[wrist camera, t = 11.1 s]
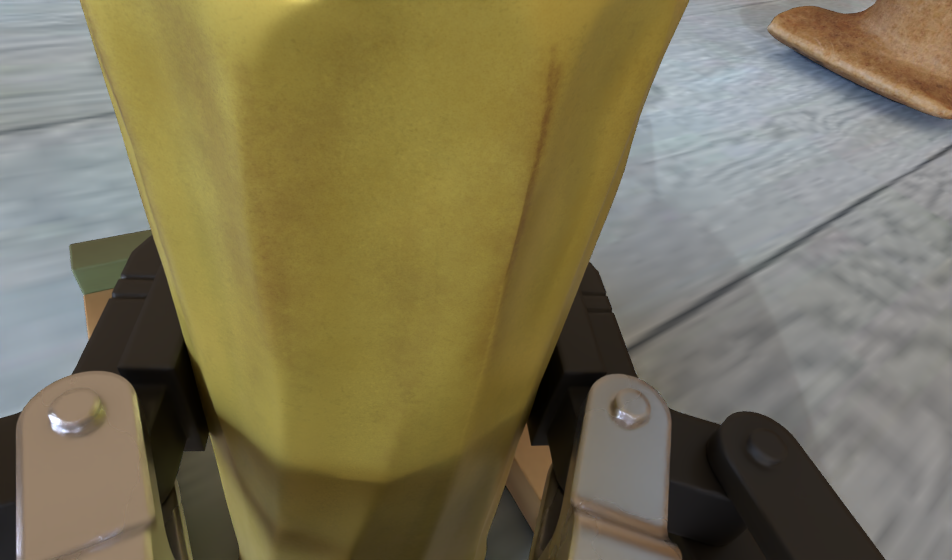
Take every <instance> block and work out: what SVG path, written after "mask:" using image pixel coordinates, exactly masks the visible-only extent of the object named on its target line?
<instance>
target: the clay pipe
mask: <svg viewBox="0 0 952 560" xmlns="http://www.w3.org/2000/svg"><path fill="white" fill-rule="evenodd" d="M767 30H768V32H769V33H770V34H771V35H772V36H773V37H774V38H776V39H777V40H778V41H780V42H781V43H783V44H785V45H786V46H788V47H790V48H792V49H793V50H795V51H796V52H798V53H800V54H802V55H803V56H805V57H807V58H809V59H810V60H812V61H814V62H816V63H818V64H820V65H822V66H824V67H825V68H827V69H829V70H831V71H833V72H834V73H836V74H838V75H840V76H842V77H844V78H846V79H848V80H851V81H852V82H854V83H856V84H858V85H860V86H862V87H865V88H867V89H869V90H871V91H873V92H875V93H878V94H880V95H882V96H884V97H886V98H889V99H891V100H893V101H896V102H898V103H901V104H904V105H906V106H908V107H911V108H913V109H916V110H918V111H921V112H923V113H926V114H929V115H932V116H936V117H939V118H943V119H952V0H877V1H876V2H875V4H874V5H872V6H871V7H869V8H868V9H866V10H864V11H862V12H858V13H851V14H843V13H837V12H834V11H830V10H827V9H823V8H820V7H816V6H803V7H797V8H792V9H790V10H788V11H785V12H782V13H780V14H778V15H777V16H776V17H774V19H773V20H772V22H771V24H770V25H769V26H768V27H767Z"/></svg>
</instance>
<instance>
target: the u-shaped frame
mask: <svg viewBox="0 0 952 560" xmlns="http://www.w3.org/2000/svg"><path fill="white" fill-rule="evenodd" d="M151 235H152V231H151V230H146V231H140V232H135V233H129V234H124V235H118V236H113V237H108V238H102V239H97V240H91V241H86V242H80V243H75V244H71V245H70V246H69V250H70V259H71V269H72V272H73V274H74V276H75V278H76V280H77V282H78V284H79V286H80V288H81V291H82V293H83V295H84V296H83V298H84V306H85V314H86V323H87V331H88V340H89V339H90V337H91V335H92V333H93V331H94V329H95V326H96V324H97V322H98V320H99V318H100V316H101V314H102V312H103V310H104V308H105V306H106V304H107V302H108V300H109V298H112V294H111V293H112V291H113V289H114V287H115V285H116V283H117V281H118V279H121V273H122V271H123V269H124V267H125V265H126V263H127V261H128V258H129V256H130V254H131V252H132V251H133V250H134V249H136V248H137V247H138V246H139V245H140V244H141V243H143V242H144V241H145V240H146V239H147V238H148V237H150V236H151ZM551 463H552V458H551V453H550V449H549V446H531V443H530V438H529V432H528V427H527V423H526V425H525V428H524V430H523V433H522V435H521V438H520V440H519V443H518V446H517V449H516V452H515V456H514V459H513V462H512V466H511V469H510V472H509V475H508V478H507V481H506V486H507V488H508V490H509V491H510V493H511V495H512V496H513V498H514V500H515V502H516V503H517V505H518V507H519V508H520V510H521V512H522V514H523V515H524V517H525V519H526V520H527V522H528V524H529V526H530V527H531V529H532V531H533V532H535V527H536V522H537V518H538V513H539V509H540V504H541V499H542V495H543V490H544V486H545V481H546V477H547V472H548V469H549V467H550V465H551Z"/></svg>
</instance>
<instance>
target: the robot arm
mask: <svg viewBox="0 0 952 560" xmlns="http://www.w3.org/2000/svg"><path fill="white" fill-rule="evenodd" d="M111 294H112V298H109V300H108V302H107V304H106V306H105V308H104V310H103V312H102V314H101V316H100V318H99V320H98V322H97V324H96V326H95V329H94V331H93V333H92V335H91V337H90V339H89V341H88V343H87V345H86V347H85V349H84V351H83V353H82V355H81V357H80V359H79V362H78V364H77V366H76V368H75V369H74V371H73V373H72V375H70V376H67V377H64V378H62V379H60V380H58V381H55V382H54V383H52V384H50V385H48V386H47V387H45V388H44V389H43V390H41V391H40V392H38V393H37V394H36V395H35V396H34V397H33V398H32V399H31V400H30V401H29V402H28V404H27V405H26V406H25V407H24V409H23V411H22V412H19V413H17V414H14V415H10V416H7V417H4V418H0V560H193V557H192V552H191V546H190V541H189V536H188V531H187V526H186V521H185V515H184V510H183V505H182V500H181V495H180V490H179V485H178V481H177V478H176V476H177V472H178V469H179V465H180V462H181V458H182V455H183V451H205V447H206V443H207V439H208V436H209V429H208V425H207V422H206V418H205V415H204V411H203V408H202V404H201V400H200V396H199V392H198V388H197V385H196V381H195V377H194V373H193V370H192V366H191V362H190V358H189V355H188V351H187V348H186V344H185V340H184V337H183V333H182V329H181V326H180V322H179V319H178V315H177V312H176V308H175V305H174V302H173V298H172V295H171V291H170V288H169V284H168V281H167V277H166V274H165V271H164V268H163V265H162V262H161V259H160V256H159V253H158V250H157V247H156V244H155V241H154V238H153V235H151V236H150V237H148V238H147V239H146V240H145V241H144V242H143V243H141V244H140V245H139V246H138V247H137V248H136V249H134V250H133V251H132V252H131V254H130V256H129V258H128V261H127V263H126V265H125V267H124V269H123V271H122V273H121V279H118V281H117V283H116V285H115V287H114V289H113V291H112V293H111ZM527 427H528V432H529V438H530V443H531V446H549V449H550V453H551V458H552V463H551V465H550V467H549V469H548V472H547V477H546V481H545V486H544V490H543V495H542V499H541V504H540V509H539V513H538V518H537V522H536V527H535V532H534V536H533V541H532V545H531V550H530V555H529V559H528V560H885V558H884V557H883V556H882V554H881V553H880V552H879V550H878V549H877V548H876V546H875V545H874V544H873V542H872V541H871V540H870V538H869V537H868V536H867V534H866V533H865V531H864V530H863V529H862V527H861V526H860V525H859V523H858V522H857V521H856V519H855V518H854V517H853V515H852V514H851V513H850V511H849V510H848V509H847V507H846V506H845V505H844V503H843V502H842V501H841V499H840V498H839V497H838V495H837V494H836V493H835V491H834V490H833V489H832V487H831V486H830V485H829V483H828V482H827V481H826V479H825V478H824V476H823V475H822V474H821V472H820V471H819V470H818V468H817V467H816V466H815V464H814V463H813V462H812V460H811V459H810V458H809V456H808V455H807V454H806V452H805V451H804V450H803V448H802V447H801V446H800V444H799V443H798V442H797V440H796V439H795V438H794V437H793V436H792V434H791V433H790V432H788V431H787V430H786V429H785V428H784V427H783V426H781V425H780V424H779V423H777V422H776V421H774V420H773V419H771V418H769V417H767V416H764V415H761V414H759V413H754V412H747V411H743V412H737V413H734V414H732V415H730V416H729V417H727V419H726V420H725V421H724V422H723V423H722V424H721V425H720V424H716V423H713V422H709V421H706V420H703V419H699V418H696V417H693V416H689V415H686V414H683V413H680V412H677V411H674V410H672V409H670V408H668V406H667V404H666V402H665V401H664V399H663V398H662V397H661V395H660V394H659V393H658V392H657V391H656V390H655V389H654V388H653V387H651V386H650V385H649V384H647V383H646V382H644V381H642V380H640V379H638V377H637V375H636V373H635V370H634V367H633V364H632V362H631V359H630V356H629V353H628V351H627V348H626V345H625V343H624V340H623V337H622V334H621V332H620V329H619V326H618V324H617V321H616V318H615V315H614V313H612V307H611V304H610V302H609V299H608V296H606V291H605V288H604V285H603V283H602V280H601V277H600V275H599V272H598V271H597V270H596V269H595V267H594V266H593V265H592V264H591V263H590V262H589V263H588V265H587V268H586V270H585V273H584V275H583V278H582V280H581V283H580V286H579V288H578V291H577V293H576V296H575V298H574V301H573V304H572V306H571V309H570V311H569V314H568V316H567V319H566V321H565V324H564V326H563V329H562V331H561V333H560V336H559V338H558V341H557V343H556V346H555V348H554V351H553V353H552V356H551V358H550V360H549V363H548V365H547V368H546V370H545V372H544V375H543V377H542V380H541V382H540V385H539V388H538V391H537V394H536V397H535V401H534V404H533V407H532V410H531V412H530V415H529V418H528V420H527Z"/></svg>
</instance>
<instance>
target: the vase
mask: <svg viewBox="0 0 952 560" xmlns="http://www.w3.org/2000/svg"><path fill="white" fill-rule="evenodd" d="M80 2H81V6H82V9H83V12H84V15H85V18H86V22H87V25H88V28H89V31H90V35H91V38H92V41H93V44H94V48H95V51H96V54H97V57H98V60H99V64H100V67H101V70H102V73H103V76H104V80H105V83H106V86H107V89H108V92H109V95H110V98H111V101H112V104H113V108H114V111H115V114H116V117H117V120H118V123H119V127H120V130H121V133H122V137H123V140H124V143H125V147H126V150H127V153H128V157H129V160H130V164H131V167H132V170H133V174H134V177H135V180H136V183H137V186H138V190H139V193H140V196H141V199H142V203H143V206H144V209H145V212H146V216H147V219H148V222H149V225H150V228H151V231H152V235H153V238H154V241H155V244H156V247H157V250H158V253H159V256H160V259H161V262H162V265H163V268H164V271H165V274H166V277H167V281H168V284H169V288H170V291H171V295H172V298H173V302H174V305H175V308H176V312H177V315H178V319H179V322H180V326H181V329H182V333H183V337H184V340H185V344H186V348H187V351H188V355H189V358H190V362H191V366H192V370H193V373H194V377H195V381H196V385H197V388H198V392H199V396H200V400H201V404H202V408H203V411H204V415H205V418H206V422H207V425H208V429H209V435H210V439H211V442H212V446H213V450H214V454H215V458H216V461H217V466H218V470H219V474H220V478H221V482H222V486H223V490H224V494H225V498H226V502H227V506H228V509H229V513H230V516H231V520H232V524H233V528H234V531H235V534H236V537H237V541H238V545H239V560H485V555H486V550H487V535H488V532H489V529H490V526H491V524H492V521H493V518H494V516H495V513H496V510H497V507H498V504H499V501H500V498H501V496H502V493H503V490H504V487H505V484H506V481H507V478H508V475H509V472H510V469H511V466H512V462H513V459H514V456H515V452H516V449H517V446H518V443H519V440H520V438H521V435H522V433H523V430H524V428H525V425H526V423H527V420H528V418H529V415H530V412H531V410H532V407H533V404H534V401H535V397H536V394H537V391H538V388H539V385H540V382H541V380H542V377H543V375H544V372H545V370H546V368H547V365H548V363H549V360H550V358H551V356H552V353H553V351H554V348H555V346H556V343H557V341H558V338H559V336H560V333H561V331H562V329H563V326H564V324H565V321H566V319H567V316H568V314H569V311H570V309H571V306H572V304H573V301H574V298H575V296H576V293H577V291H578V288H579V286H580V283H581V280H582V278H583V275H584V273H585V270H586V268H587V265H588V263H589V260H590V258H591V255H592V253H593V250H594V248H595V245H596V242H597V240H598V237H599V235H600V233H601V230H602V228H603V225H604V223H605V220H606V218H607V215H608V213H609V210H610V208H611V205H612V203H613V200H614V198H615V195H616V192H617V190H618V187H619V184H620V181H621V178H622V176H623V173H624V170H625V166H626V163H627V159H628V155H629V152H630V148H631V145H632V141H633V138H634V134H635V131H636V128H637V124H638V121H639V117H640V114H641V112H642V109H643V106H644V104H645V101H646V98H647V96H648V93H649V90H650V88H651V85H652V83H653V80H654V78H655V76H656V73H657V71H658V68H659V66H660V64H661V61H662V59H663V56H664V54H665V52H666V50H667V48H668V45H669V43H670V41H671V39H672V37H673V35H674V33H675V30H676V28H677V26H678V24H679V22H680V20H681V17H682V15H683V13H684V11H685V9H686V7H687V5H688V2H689V0H80Z"/></svg>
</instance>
